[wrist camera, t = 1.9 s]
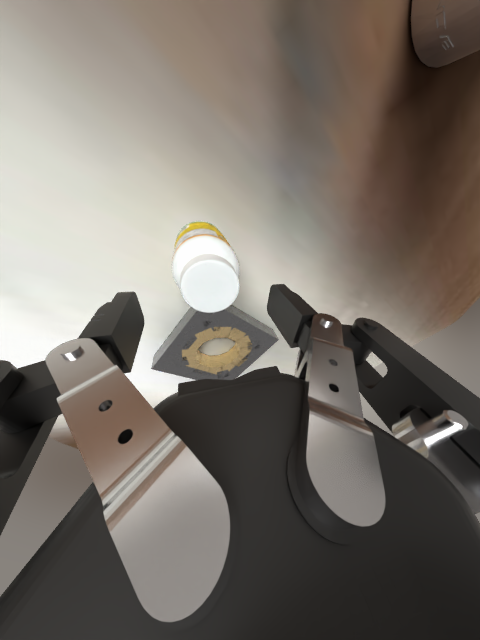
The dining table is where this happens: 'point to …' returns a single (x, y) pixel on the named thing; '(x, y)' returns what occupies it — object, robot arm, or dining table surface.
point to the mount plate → (201, 327)
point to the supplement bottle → (205, 267)
